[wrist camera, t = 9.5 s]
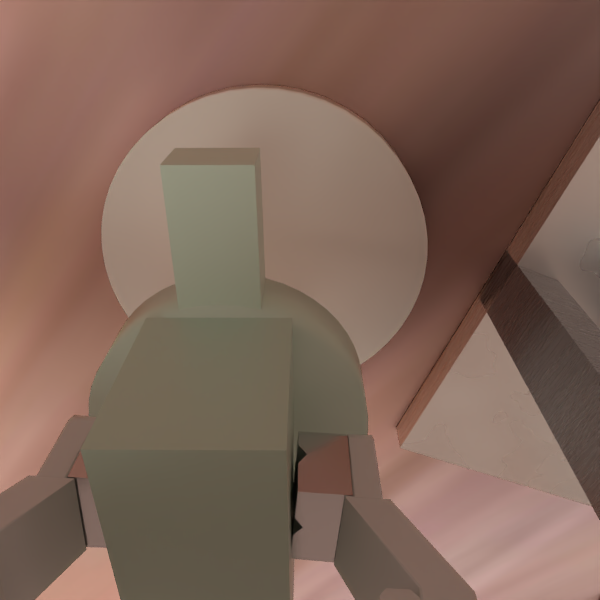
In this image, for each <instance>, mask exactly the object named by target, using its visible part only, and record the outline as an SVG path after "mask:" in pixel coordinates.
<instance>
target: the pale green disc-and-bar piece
mask: <svg viewBox="0 0 600 600" xmlns="http://www.w3.org/2000/svg"><path fill="white" fill-rule="evenodd" d="M160 171H161V178H162V186H163V194H164V201H165V209H166V217H167V224H168V232H169V240H170V247H171V255H172V263H173V270H174V278H175V284H173V285H171V286H169V287H167V288H165V289H162V290H160V291H159V292H157V293H156V294H154V295H153V296H151V297H150V298H148V299H147V300H146V301H144V302H143V303H142V304H141V305H140V306H139V307H138V308H136V309H135V311H134V312H133V313H132V314H131V315H130V317H129V318H128V319H127V320H126V322H125V323H124V325H123V327H122V328H121V330H120V332H119V333H118V335H117V337H116V339H115V341H114V342H113V344H112V346H111V348H110V350H109V351H108V353H107V355H106V357H105V359H104V360H103V362H102V364H101V366H100V367H99V369H98V371H97V373H96V376H95V378H94V381H93V384H92V386H91V392H90V397H89V416H91V417H96V419H95V421H94V423H93V425H92V427H91V429H90V431H89V433H88V435H87V437H86V439H85V441H84V443H83V445H82V447H81V449H80V450H81V454H82V458H83V461H84V465H85V469H86V472H87V476H88V480H89V484H90V487H91V491H92V495H93V498H94V502H95V506H96V510H97V513H98V517H99V521H100V524H101V528H102V532H103V536H104V539H105V543H106V547H107V550H108V554H109V558H110V562H111V565H112V569H113V573H114V576H115V580H116V584H117V588H118V591H119V595H120V599H121V600H293V592H294V559H292V517H293V481H294V469H295V462H296V451H297V439H298V431H301V432H318V433H335V434H346V435H347V434H358V435H367V433H368V413H367V406H366V399H365V392H364V385H363V379H362V372H361V367H360V361H359V358H358V355H357V352H356V349H355V346H354V344H353V343H352V341H351V339H350V337H349V335H348V333H347V332H346V331H345V329H344V328H343V327H342V325H341V324H340V323H339V321H338V320H337V319H336V318H335V317H334V316H333V315H332V314H331V313H330V312H329V311H328V310H327V309H326V308H324V307H323V306H322V305H321V304H319V303H318V302H317V301H315V300H314V299H313V298H311V297H309V296H307V295H306V294H304V293H302V292H301V291H299V290H297V289H294V288H292V287H290V286H288V285H285V284H283V283H280V282H277V281H273V280H270V279H267V278H265V259H264V234H263V209H262V185H261V160H260V148H174V149H173V151H172V152H171V153H170V154H169V155H168V156H167V157H166V159H165V160H164V161H163V162H162V163H161V164H160Z"/></svg>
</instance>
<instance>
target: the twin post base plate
mask: <svg viewBox="0 0 600 600" xmlns="http://www.w3.org/2000/svg"><path fill="white" fill-rule="evenodd" d="M396 429H397V435H398V440H399V445H400V448H402V449H406V450H409V451H412V452H415V453H419V454H422V455H425V456H428V457H432V458H435V459H438V460H442V461H445V462H448V463H451V464H455V465H458V466H461V467H465V468H468V469H471V470H474V471H478V472H481V473H484V474H488V475H491V476H494V477H497V478H501V479H504V480H507V481H510V482H514V483H517V484H520V485H524V486H527V487H530V488H533V489H537V490H540V491H543V492H547V493H550V494H553V495H556V496H560V497H563V498H566V499H570V500H573V501H576V502H579V503H583V504H586V505H589V506H592V507H593V509H594V511H595V513H596V514H597V516H598V518H599V520H600V100H599V102H598V103H597V105H596V107H595V108H594V110H593V112H592V113H591V115H590V116H589V118H588V120H587V121H586V123H585V124H584V126H583V128H582V129H581V131H580V132H579V134H578V136H577V137H576V139H575V141H574V142H573V144H572V145H571V147H570V149H569V150H568V152H567V153H566V155H565V157H564V158H563V160H562V161H561V163H560V165H559V166H558V168H557V170H556V171H555V173H554V174H553V176H552V178H551V179H550V181H549V182H548V184H547V186H546V187H545V189H544V190H543V192H542V194H541V195H540V197H539V199H538V200H537V202H536V203H535V205H534V207H533V208H532V210H531V211H530V213H529V215H528V216H527V218H526V219H525V221H524V223H523V224H522V226H521V227H520V229H519V231H518V232H517V234H516V236H515V237H514V239H513V240H512V242H511V244H510V245H509V247H508V248H507V250H506V252H505V253H504V255H503V256H502V258H501V260H500V261H499V263H498V265H497V266H496V268H495V269H494V271H493V273H492V274H491V276H490V277H489V279H488V281H487V282H486V284H485V285H484V287H483V289H482V290H481V292H480V294H479V295H478V297H477V298H476V300H475V302H474V303H473V305H472V306H471V308H470V310H469V311H468V313H467V314H466V316H465V318H464V319H463V321H462V323H461V324H460V326H459V327H458V329H457V331H456V332H455V334H454V335H453V337H452V339H451V340H450V342H449V343H448V345H447V347H446V348H445V350H444V352H443V353H442V355H441V356H440V358H439V360H438V361H437V363H436V364H435V366H434V368H433V369H432V371H431V372H430V374H429V376H428V377H427V379H426V381H425V382H424V384H423V385H422V387H421V389H420V390H419V392H418V393H417V395H416V397H415V398H414V400H413V401H412V403H411V405H410V406H409V408H408V410H407V411H406V413H405V414H404V416H403V418H402V419H401V421H400V422H399V424H398V426H397V427H396Z"/></svg>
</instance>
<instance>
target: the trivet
mask: <svg viewBox="0 0 600 600" xmlns="http://www.w3.org/2000/svg"><path fill="white" fill-rule="evenodd" d="M174 148H260V160H261V185H262V209H263V234H264V259H265V278H267V279H270V280H273V281H277V282H280V283H283V284H285V285H288V286H290V287H292V288H294V289H297V290H299V291H301V292H302V293H304V294H306V295H307V296H309V297H311V298H313V299H314V300H315V301H317V302H318V303H319V304H321V305H322V306H323V307H324V308H326V309H327V310H328V311H329V312H330V313H331V314H332V315H333V316H334V317H335V318H336V319H337V320H338V321H339V323H340V324H341V325H342V327H343V328H344V329H345V331H346V332H347V333H348V335H349V337H350V339H351V341H352V343H353V344H354V346H355V349H356V352H357V355H358V358H359V361H360V365H361V364H362V363H364V362H365V361H366V360H368V359H369V358H371V357H372V356H374V355H375V354H376V353H377V352H378V351H379V350H380V349H382V348H383V347H384V346H385V345H386V344H387V343H388V342H389V341H390V340H391V339H392V337H393V336H394V335H395V334H396V333H397V332H398V330H399V329H400V328H401V327H402V325H403V324H404V322H405V320H406V319H407V317H408V316H409V314H410V313H411V311H412V309H413V306H414V304H415V302H416V300H417V298H418V296H419V293H420V290H421V286H422V283H423V280H424V276H425V270H426V264H427V250H428V237H427V229H426V222H425V217H424V213H423V209H422V206H421V202H420V199H419V196H418V194H417V192H416V190H415V187H414V185H413V183H412V181H411V178H410V176H409V175H408V173H407V171H406V169H405V167H404V166H403V164H402V162H401V161H400V159H399V158H398V156H397V154H396V153H395V151H394V150H393V149H392V147H391V146H390V145H389V144H388V143H387V142H386V140H385V139H384V138H383V137H382V136H381V134H380V133H378V132H377V131H376V130H375V129H374V128H373V127H372V126H371V125H370V124H368V123H367V122H366V121H365V120H364V119H363V118H361V117H360V116H358V115H357V114H355V113H354V112H352V111H351V110H349V109H348V108H346V107H345V106H343V105H340V104H338V103H336V102H334V101H332V100H330V99H328V98H326V97H324V96H321V95H318V94H315V93H312V92H309V91H306V90H303V89H297V88H292V87H286V86H281V85H259V84H255V85H245V86H235V87H230V88H226V89H222V90H218V91H214V92H210V93H208V94H205V95H203V96H200V97H198V98H196V99H193V100H191V101H189V102H187V103H186V104H184V105H182V106H180V107H179V108H177V109H175V110H174V111H172V112H171V113H169V114H168V115H167V116H166V117H164V118H163V119H162V120H161V121H159V122H158V123H157V124H156V125H155V126H153V127H152V128H151V129H150V130H149V131H147V132H146V133H145V134H144V135H143V136H142V137H141V139H140V140H139V141H138V142H137V143H136V144H135V145H134V146H133V147H132V148H131V149H130V151H129V152H128V154H127V155H126V157H125V158H124V160H123V161H122V163H121V164H120V166H119V167H118V170H117V172H116V174H115V176H114V178H113V180H112V183H111V185H110V187H109V191H108V194H107V197H106V201H105V204H104V210H103V217H102V225H101V236H102V251H103V258H104V264H105V268H106V271H107V274H108V278H109V281H110V284H111V286H112V289H113V291H114V293H115V295H116V297H117V300H118V302H119V303H120V305H121V306H122V308H123V310H124V311H125V313H126V315H127V316H128V318H129V317H130V315H131V314H132V313H133V312H134V311H135V309H136V308H138V307H139V306H140V305H141V304H142V303H143V302H144V301H146V300H147V299H148V298H150V297H151V296H153V295H154V294H156V293H157V292H159V291H160V290H162V289H165V288H167V287H169V286H171V285H173V284H175V278H174V270H173V263H172V255H171V247H170V240H169V232H168V224H167V217H166V209H165V201H164V194H163V186H162V178H161V171H160V164H161V163H162V162H163V161H164V160H165V159H166V157H167V156H168V155H169V154H170V153H171V152H172V151H173V149H174Z"/></svg>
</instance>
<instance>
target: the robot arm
mask: <svg viewBox="0 0 600 600" xmlns="http://www.w3.org/2000/svg"><path fill="white" fill-rule="evenodd" d="M95 419H96V417H91V416H81V415H74V416H73V417H71V418H70V419H69V420H68V422H67V423H66V425H65V427H64V429H63V430H62V432H61V434H60V436H59V437H58V439H57V441H56V443H55V444H54V446H53V448H52V450H51V451H50V453H49V455H48V457H47V458H46V460H45V462H44V464H43V465H42V467H41V469H40V471H39V472H38V474H37V476H27V477H26V478H24V479H23V480H21V481H19V482H18V483H16V484H15V485H13V486H12V487H10V488H8V489H7V490H5V491H4V492H2V493H1V494H0V600H35V599H36V598H37V597H38V596H39V595H40V594H41V593H42V592H43V591H44V590H45V589H46V588H47V587H48V586H49V585H50V584H51V583H52V582H53V581H54V580H56V579H57V578H58V577H59V576H60V575H61V574H62V573H63V572H64V571H65V570H66V569H67V568H68V567H69V566H70V565H71V564H72V563H73V562H74V561H75V560H76V559H77V558H78V557H79V556H80V555H81V554H82V553H83V552H84V551H85V550H86V547H104V548H107V547H106V543H105V539H104V536H103V532H102V528H101V524H100V521H99V517H98V513H97V510H96V506H95V502H94V498H93V495H92V491H91V487H90V484H89V480H88V476H87V472H86V469H85V465H84V461H83V458H82V454H81V450H80V449H81V447H82V445H83V443H84V441H85V439H86V437H87V435H88V433H89V431H90V429H91V427H92V425H93V423H94V421H95ZM292 559H303V560H314V561H325V562H334V565H335V567H336V569H337V570H338V572H339V574H340V575H341V577H342V579H343V580H344V582H345V583H346V585H347V587H348V588H349V590H350V592H351V593H352V595H353V597H354V598H355V600H477V598H476V594H475V592H474V590H473V589H472V588H471V587H470V586H469V585H468V584H467V583H466V582H465V581H464V579H463V578H462V577H461V576H460V575H459V574H458V573H457V572H456V571H455V570H454V569H453V567H452V566H451V565H450V564H449V563H448V562H447V561H446V560H445V559H444V558H443V557H442V555H441V554H440V553H439V552H438V551H437V550H436V549H435V548H434V547H433V546H432V544H431V543H430V542H429V541H428V540H427V539H426V538H425V537H424V536H423V535H422V534H421V532H420V531H419V530H418V529H417V528H416V527H415V526H414V525H413V524H412V523H411V522H410V520H409V519H408V518H407V517H406V516H405V515H404V514H403V513H402V512H401V511H400V509H399V508H398V507H397V506H396V505H395V504H394V503H393V502H392V501H391V500H390V499H383V497H382V491H381V484H380V478H379V471H378V464H377V458H376V451H375V445H374V439H373V437H372V436H371V435H358V434H347V435H346V434H335V433H318V432H301V431H298V439H297V451H296V462H295V469H294V481H293V517H292Z"/></svg>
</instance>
